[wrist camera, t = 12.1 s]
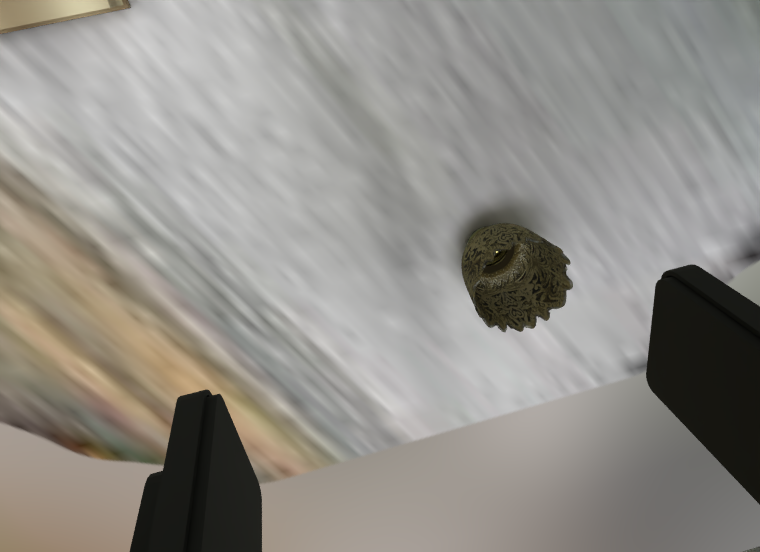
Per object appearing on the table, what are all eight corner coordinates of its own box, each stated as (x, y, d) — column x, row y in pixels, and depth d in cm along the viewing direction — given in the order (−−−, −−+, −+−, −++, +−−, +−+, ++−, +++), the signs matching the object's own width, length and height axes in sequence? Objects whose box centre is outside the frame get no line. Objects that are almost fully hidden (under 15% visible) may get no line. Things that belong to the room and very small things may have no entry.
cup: (434, 216, 43) (468, 260, 36) (521, 189, 44) (570, 228, 37) (449, 292, 47) (482, 345, 40) (529, 267, 47) (575, 316, 41)
